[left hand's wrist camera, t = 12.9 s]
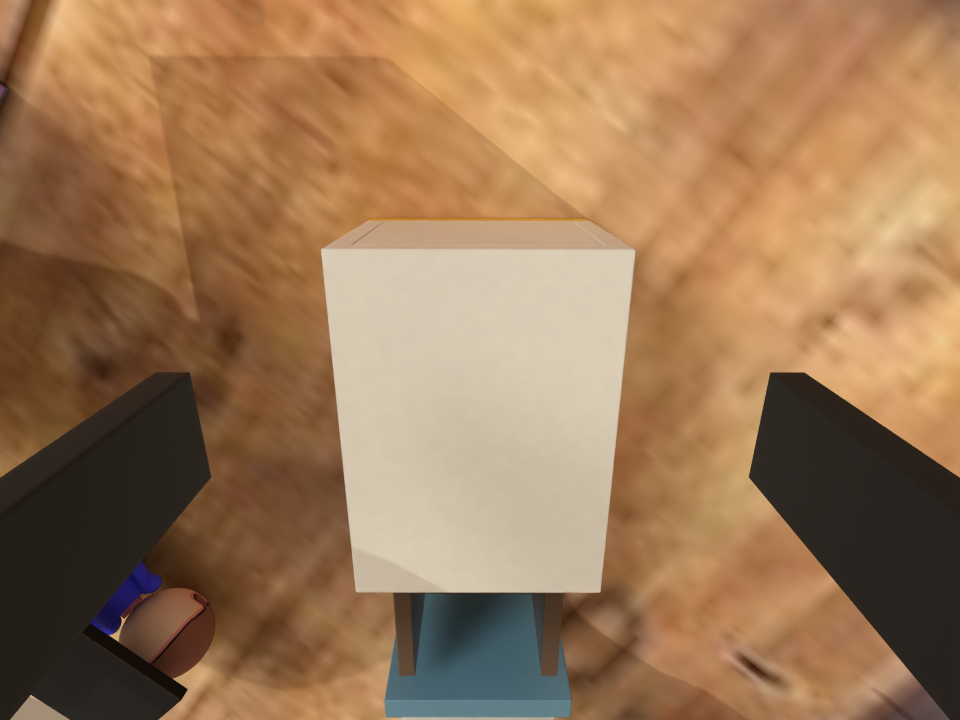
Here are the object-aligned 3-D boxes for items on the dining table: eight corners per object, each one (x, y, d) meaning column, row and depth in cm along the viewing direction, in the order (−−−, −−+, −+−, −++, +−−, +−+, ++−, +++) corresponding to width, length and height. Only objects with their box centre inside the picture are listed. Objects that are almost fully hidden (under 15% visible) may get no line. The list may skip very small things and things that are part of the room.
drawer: (548, 675, 36) (564, 792, 29) (408, 675, 36) (392, 792, 29) (565, 414, 29) (590, 490, 22) (391, 414, 29) (366, 490, 22)
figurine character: (1, 507, 33) (193, 655, 36) (-145, 592, 26) (108, 772, 28) (55, 437, 32) (253, 598, 34) (-85, 507, 24) (179, 706, 27)
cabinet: (569, 477, 31) (600, 593, 23) (388, 477, 31) (355, 593, 23) (587, 218, 26) (637, 248, 18) (370, 217, 26) (319, 248, 18)
